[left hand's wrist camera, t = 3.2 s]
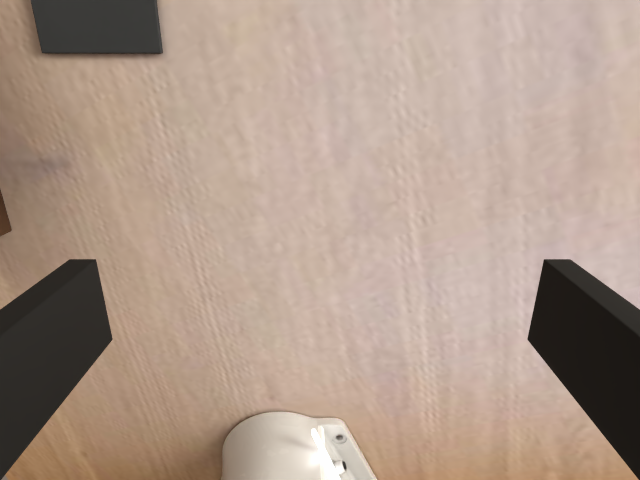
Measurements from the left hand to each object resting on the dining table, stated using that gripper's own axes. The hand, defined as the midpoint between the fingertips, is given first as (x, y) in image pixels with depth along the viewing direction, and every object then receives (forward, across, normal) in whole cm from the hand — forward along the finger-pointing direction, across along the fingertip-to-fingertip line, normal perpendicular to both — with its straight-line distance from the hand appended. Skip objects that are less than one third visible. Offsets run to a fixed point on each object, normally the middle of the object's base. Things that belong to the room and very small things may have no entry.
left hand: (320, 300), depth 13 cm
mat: (+28, -18, +13) cm, 36 cm away
